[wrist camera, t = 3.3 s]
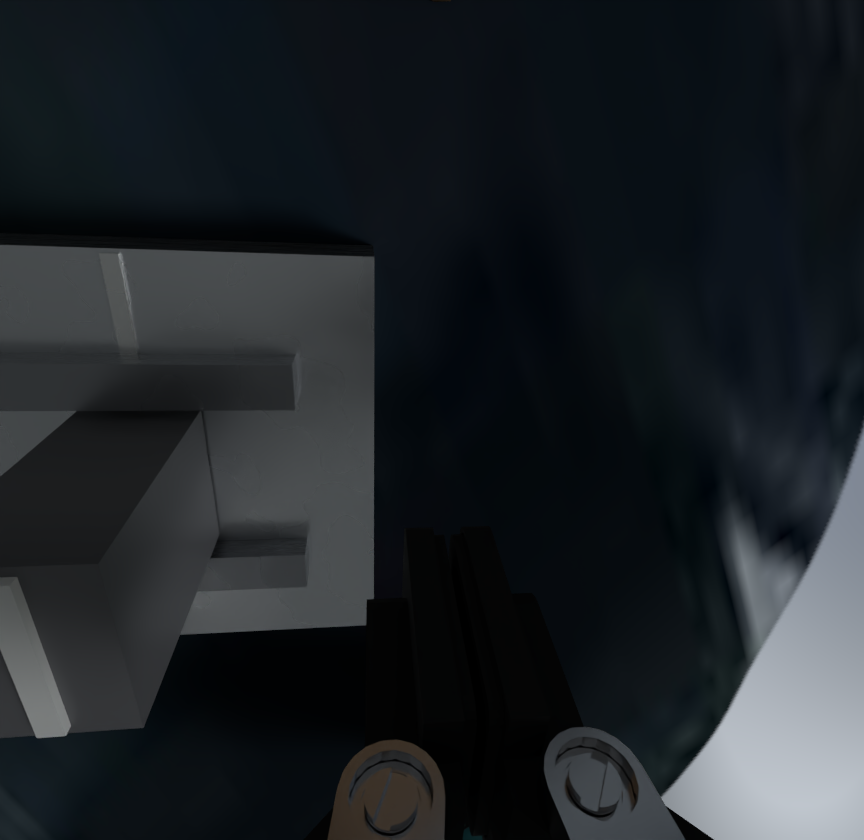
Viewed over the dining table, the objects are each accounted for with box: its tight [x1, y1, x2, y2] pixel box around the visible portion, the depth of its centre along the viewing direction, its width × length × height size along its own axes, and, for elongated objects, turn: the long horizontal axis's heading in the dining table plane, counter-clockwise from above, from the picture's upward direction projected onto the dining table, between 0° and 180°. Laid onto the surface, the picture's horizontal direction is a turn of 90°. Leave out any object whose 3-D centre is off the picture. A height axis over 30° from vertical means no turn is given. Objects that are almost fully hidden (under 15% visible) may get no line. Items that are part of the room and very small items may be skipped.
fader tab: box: [0, 411, 219, 738], centre depth 12 cm, size 4×3×6 cm
